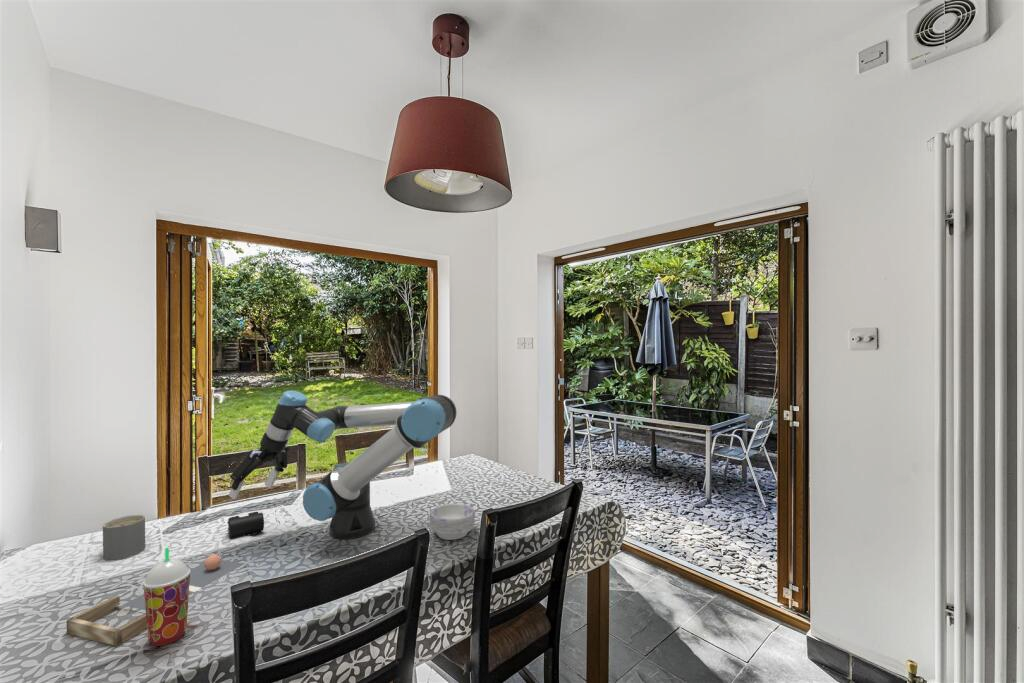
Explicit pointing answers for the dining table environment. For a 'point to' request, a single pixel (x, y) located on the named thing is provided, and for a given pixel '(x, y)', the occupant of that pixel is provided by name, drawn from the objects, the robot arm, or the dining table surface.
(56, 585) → the dining table surface
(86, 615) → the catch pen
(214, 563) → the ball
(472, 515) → the paper bowls
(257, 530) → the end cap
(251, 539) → the dining table surface
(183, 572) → the smoothie
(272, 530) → the dining table surface
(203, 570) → the lane
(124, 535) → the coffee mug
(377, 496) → the dining table surface
